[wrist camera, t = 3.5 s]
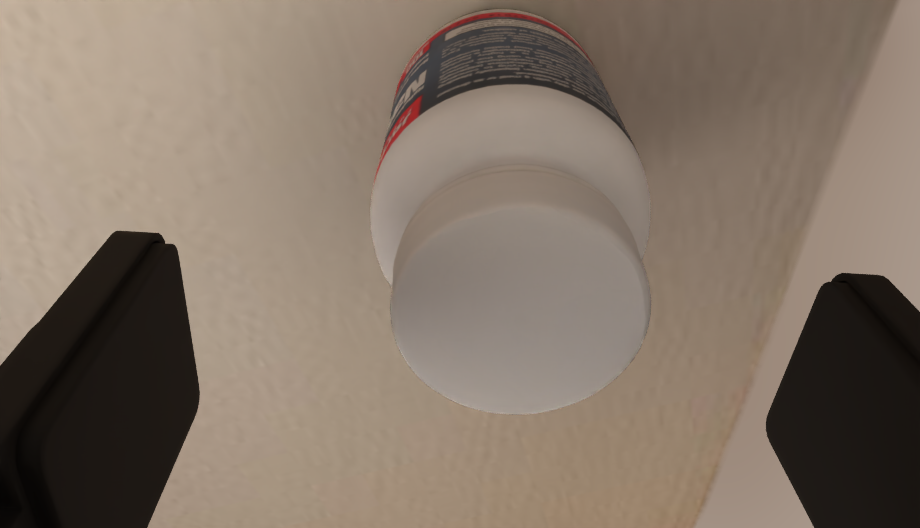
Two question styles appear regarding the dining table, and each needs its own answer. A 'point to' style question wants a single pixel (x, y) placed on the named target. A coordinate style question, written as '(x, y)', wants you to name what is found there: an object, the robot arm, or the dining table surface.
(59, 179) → the dining table surface
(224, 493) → the dining table surface
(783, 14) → the dining table surface
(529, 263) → the pill bottle
